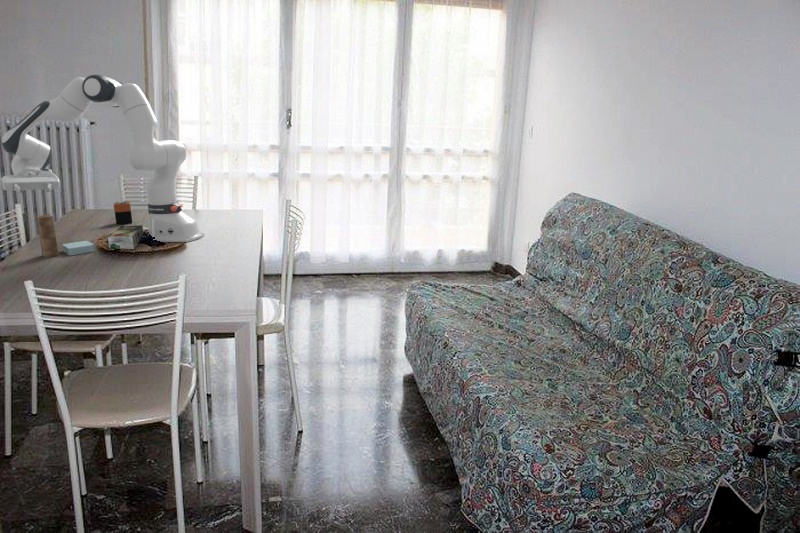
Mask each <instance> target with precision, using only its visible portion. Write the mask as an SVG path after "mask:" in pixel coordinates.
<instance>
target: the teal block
mask: <svg viewBox="0 0 800 533" xmlns="http://www.w3.org/2000/svg"><path fill="white" fill-rule="evenodd" d="M61 245H62V252H64V253H65V254H67V255H68V256H74V255H81V254H87V253H92V252H93V253H94V252H95V244H94V243H92V242H90V241H88V240H83V241H75V242H68V243H63V244H61Z"/></svg>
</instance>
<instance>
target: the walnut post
mask: <svg viewBox="0 0 800 533" xmlns="http://www.w3.org/2000/svg"><path fill="white" fill-rule="evenodd" d="M35 217H36V223H37V229H38V235H39V236H38V237H39V242H40V247H41V248H40V249H41V253H42V254H41V255H42V257H44V258H52V257H54V258H55V257H59V249H58V243H57V238H56V230H55V225H54V224H55V222H54V218H53V216H52V215H51V214H42V215H36V216H35Z"/></svg>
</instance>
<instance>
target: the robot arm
mask: <svg viewBox="0 0 800 533" xmlns="http://www.w3.org/2000/svg"><path fill="white" fill-rule="evenodd" d="M93 103H98V104H100V105H102V106H104V107H112V108H119V109H120V110H121V113H122V115H123V118H124V120H125V121H126V123H127V127H128V129H129V132H130V135H131V146H130V147H129V149H128V150H127V162H128V164H129V165H130V166H131V167H132V169H134V170H135V171H142V172H144V171H146V172H149V171H154V172H153V175H152V177H151V178H150V180H148V182H147V184H146V193H147V200H148V203H147V211H148V215H149V233H148V235H149V234H150V235H151V236H152V237H155V239H153V240H157V241H160V242H161V243H162V242H163V243H164V242H166V243H168V242H177V243H179V242H181V243H185V242H192V241H196V240H199V239H201V238H203V237H204V236H205V235H206V234H205V232H204V231H199V226H198V222H197V221H196V220H195V219H194V218H192V217H191V216H189V215H188V214H187V213H185V212H184V211H183V209H182V208H183V207H184V203H181V204H180V203H179V201H178V199H177V198H178V197H177V179H178V178H177V177H178V174H179V171H180V167H181V165H182V164H184V162H185V160H186V158H187V149H186V147H185V146H184V144H183V143H182V142H181V141H180V140H175V139H174V140H172V139H163V140H157V139H156V138H155V131H156V130H157V129H158V126H159V121H158V119H157V117H156V115H155V113H154V110H153V108H152V106H151V104H150V102H149V100H148V99H147V97H146V95H145V93H144V92H143V91H142V89H141V88H140V87H139V85H137V84H136V83H133V82H131V83H129V82H128V83H122V82H120V81H117V80H115V79H114V78H111V77H110V76H109V77H108V76H104V75H101V74H91V75H88V76H87V77H82V76H78V77H75V78H73V80H72V81H70V82H69V83H68V84H67V85H66V86H65V87H64V89H63V90H62V91H61V92H60V93H59V95H58V96H57V97H56V98H54V99H52V100H44V101H42V102H40V103H39V104H38V105H37V106H36V107H34V108H33V109H32V110H31V111H30V112H28V114H27V115H25V117H23V118H22V119H21V120H20V121H19V122H18V123H17V124H15V125H14V126H13V127H12V128H10V129H8V131H7V132H6V133H4V135H3V136H2V139H1V141H0V142H1V146H2V148H3V150H4V151H5V152H6V153H8V154H11V155H13V156H14V157H13V158H12V160H11V166H10V167H11V171H12V174H11V175H10V174H9V175H8V174H7V175H3V176H2V177H0V183H1V184H2V185H1V186H2V190H3V191H15V192H18V193H19V194H23V193H24V191H29V190H30V191H38V190H39V191H40V190H42V191H43V190H45V193H50V192H51V190H59V189H61V181H60V178H59V177H58V176H57V174H55V173H53V170H52V169H50V168H47V167H48V166H49V165H50V163H51V162H52V159H53V152H52V147H51V145H49V144H47V143H45V142H44V141H42V140H40V139H37V138H35V137H33V136H31V135H30V134H29V132H30V131H31V130H32V129H33V128H34V127H36V126H37V125H38V124H39V123H40V122H43V121H55V122H60V123H74V122H77V121H79V120H80V119H81V118H82V117H83V116H84V114H85V113H86V112H87V110H88V109H89V108H90V106H91V105H93Z"/></svg>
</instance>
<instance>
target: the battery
mask: <svg viewBox="0 0 800 533" xmlns="http://www.w3.org/2000/svg"><path fill="white" fill-rule="evenodd" d="M131 208H132V207H131V203H130V201H128V200H123V201H122V202H120V201H115V202H114V203H113V211H114V216H115V217H114V218H115V224H116V225H128V224H129V225H130V224H132V223H133V218H132V217H133V216H132V209H131Z"/></svg>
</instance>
